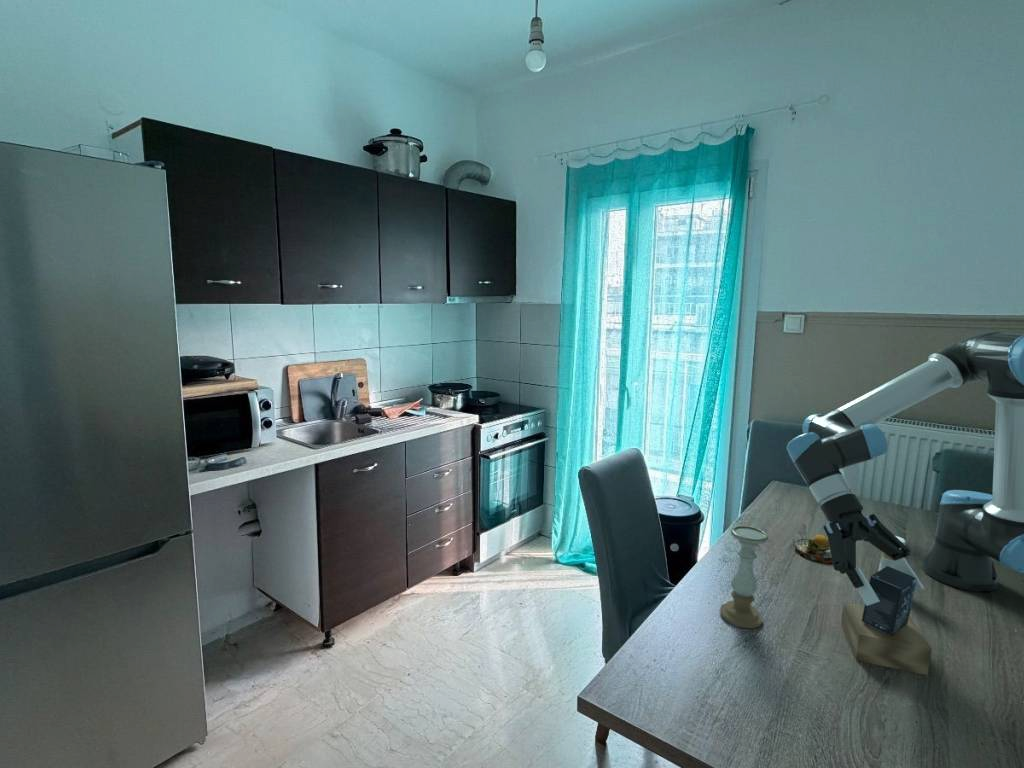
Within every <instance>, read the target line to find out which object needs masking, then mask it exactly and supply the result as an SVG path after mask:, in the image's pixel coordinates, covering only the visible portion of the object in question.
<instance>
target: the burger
mask: <svg viewBox="0 0 1024 768" xmlns="http://www.w3.org/2000/svg"><path fill="white" fill-rule="evenodd" d="M793 546H794V548H795V551H794V552H795V553H796V555H800V557H801V556H802V554H803V556H804V557H805V558H806V559H807V560H811V561H817V562H819V561H820V562H822V564H828V563H831V564H833V562H832V556H831V551H830V546H829V541H828V536H827V534H826V535H823V534H815V535H814V537H812V538H811V539H809V538H808V539H806V538H801V539H797V540H796V541H794V542H793Z"/></svg>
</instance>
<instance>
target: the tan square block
mask: <svg viewBox="0 0 1024 768" xmlns="http://www.w3.org/2000/svg"><path fill="white" fill-rule="evenodd" d="M864 607H865V605H860V604H854V603H850V602H843V606H842V611H841V612H842V613H841V622H840V628H841V630H842V633H843V635H844V637H845V639H846V641H847V644H848V646H849V648H850V650H851V653H852V654H853V657H854V659H855V661H858V662H863V663H868V664H873V665H877V666H882V667H886V668H887V667H888V668H891V669H897V670H902V671H905V672H911V673H916V674H921V675H926V676H928V673H929V668H930V662H931V655H932V650H933V649H932V647H931V645H930V643H929V642H928V640H927V639H926V638H925V636H924V635H923V633H922V632H921V630H920V629H919V627H918V625H917V624H916V623H915V621H914V620H913V617H912V616H911V615H910V614H909V619H908V624H906V625H905V626H904V627H902V628H901V629H900V630H898V631H897V632H896V633H895V634H894V635H892V636H889V635H887V634H885V633H883V632H881V631H879V630H877V629H875V628H873V627H871V626H869V625H867V624H866V623H864V622H862V617H863V612H864Z"/></svg>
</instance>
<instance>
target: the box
mask: <svg viewBox="0 0 1024 768" xmlns="http://www.w3.org/2000/svg"><path fill="white" fill-rule="evenodd" d="M916 581H917V578H915V577H913V576H910V575H908V574H906V573H903V572H901V571H898V570H896V569H894V568H891V567H889V566H886V567H885V568H883V569H882V570H880V571H879V570H878V571H877V572H875V573H873V574H871V575H870V579H869V581H868V582H869V584H870V585H871V587H872V589H873V590H874V592H875V594H876V596H877V597H878V599H879V601H880V602H877V603H874V604H871V605H868V606H866V604H865V603H864V606H865V607H864V612H863V617H862V622H864V623H866V624H867V625H869V626H871V627H873V628H875V629H877V630H879V631H881V632H883V633H885V634H887V635H889V636H892V635H894V634H895V633H896V632H897V631H898V630H900V629H901V628H902V627H904V626H905V625H906V624H908V619H909V615H910V614H911V609H912V603H913V599H914V596H915V595H914V594H915V592H914V590H915V586H916Z"/></svg>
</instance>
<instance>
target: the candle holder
mask: <svg viewBox="0 0 1024 768" xmlns="http://www.w3.org/2000/svg"><path fill="white" fill-rule="evenodd" d="M730 535H731V536H732V537H733V538H734V539H736V540H737V541H738V542H739V544H740V549H739V550H737V555H738V556H739V563H738V567H737V569H736V571H735V572H734V574H733V575H732V577H731V579H730V586H731V588H732V591H731V597H732V600H729V601H727V602H725V603H723V604H722V605H721V606H720V609H719V614H720V616H721V617H722V619H724V621H726V622H728V623H729V624H730V625H733V626H735V627H738V628H742V629H743V628H744V629H756V628H759V627H760V626H762V624H763V615H762V614H761V613H760V612H759V611H758V610H757V608H756V607H755V606H753V605H752V604H753V603H754V602H755V599H756V598H755V596H754V595H755V593H757V590H758V583H757V579H756V577H755V573H754V560H755V559H757V557H758V556H757V554H756V552H755V549H756V548H757V547H758V546H759V545H760V544H762V545H763V544H765V543H768V541H769V535H768V533H767V532H766V531H764V530H763V529H761V528H757V527H755V526H751V525H742V524H741V525H734V526H733V527H732V528H731V529H730Z"/></svg>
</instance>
